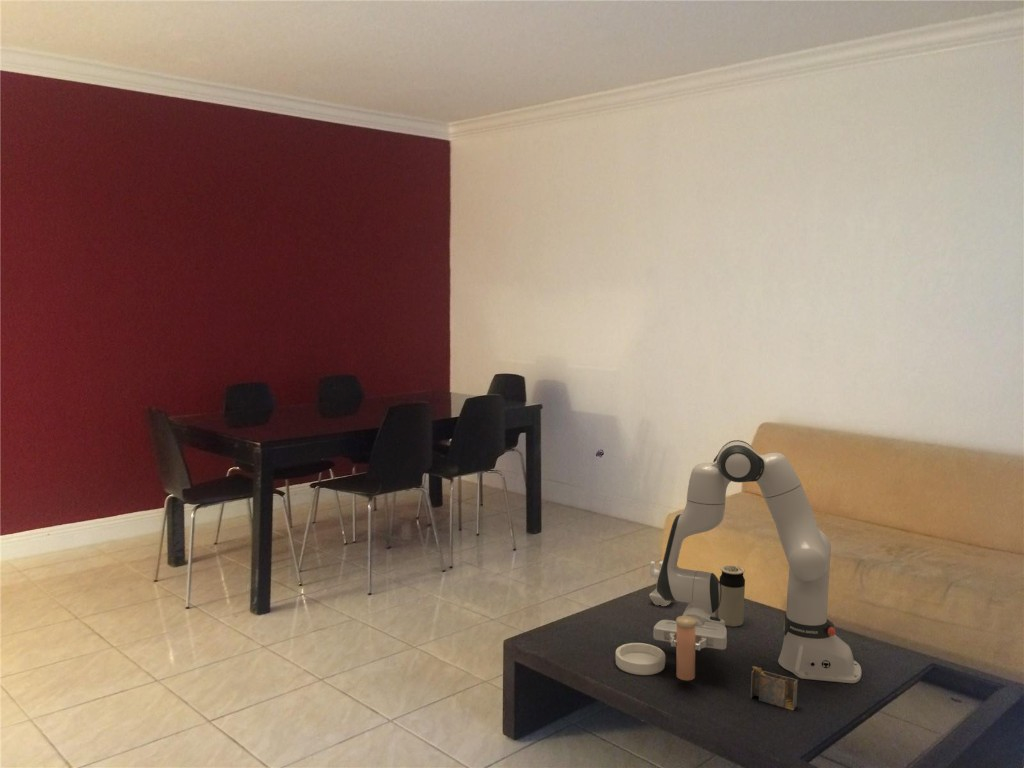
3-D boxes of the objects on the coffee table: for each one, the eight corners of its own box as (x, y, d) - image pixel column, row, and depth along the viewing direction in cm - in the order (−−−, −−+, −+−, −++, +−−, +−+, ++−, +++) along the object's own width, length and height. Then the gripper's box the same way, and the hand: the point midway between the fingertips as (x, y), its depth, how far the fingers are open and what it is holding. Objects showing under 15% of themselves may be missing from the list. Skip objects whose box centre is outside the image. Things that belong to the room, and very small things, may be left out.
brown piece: (749, 700, 221) (751, 665, 220) (753, 695, 224) (754, 661, 223) (793, 712, 215) (794, 676, 214) (796, 707, 218) (798, 672, 216)
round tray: (669, 658, 245) (669, 647, 245) (658, 678, 232) (658, 667, 232) (622, 649, 250) (623, 639, 250) (610, 669, 237) (610, 659, 237)
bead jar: (696, 673, 229) (697, 617, 228) (693, 681, 225) (693, 624, 223) (678, 670, 231) (678, 614, 230) (674, 678, 227) (674, 621, 225)
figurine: (671, 609, 281) (673, 567, 280) (645, 604, 286) (646, 562, 284) (679, 603, 287) (680, 561, 286) (653, 597, 292) (654, 556, 290)
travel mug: (719, 626, 268) (721, 572, 266) (716, 616, 276) (718, 564, 274) (744, 628, 267) (747, 573, 265) (741, 618, 275) (743, 565, 272)
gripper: (658, 611, 243) (647, 629, 230) (730, 620, 235) (723, 640, 222) (658, 631, 243) (647, 651, 231) (730, 642, 235) (722, 662, 223)
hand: (685, 645), depth 226 cm, fingers closed on bead jar, 5 cm apart
